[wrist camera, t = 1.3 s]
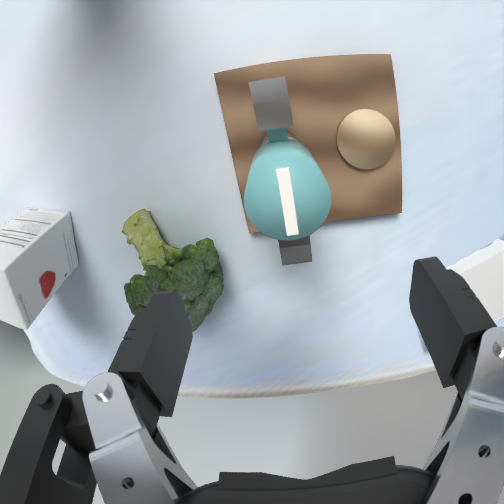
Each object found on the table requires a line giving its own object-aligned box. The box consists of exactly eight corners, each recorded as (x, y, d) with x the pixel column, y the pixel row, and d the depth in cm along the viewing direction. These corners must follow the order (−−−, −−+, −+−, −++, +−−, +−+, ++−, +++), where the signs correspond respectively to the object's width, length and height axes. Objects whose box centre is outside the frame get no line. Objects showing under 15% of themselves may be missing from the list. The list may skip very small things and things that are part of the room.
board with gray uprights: (216, 74, 28) (186, 68, 18) (385, 55, 25) (440, 46, 15) (250, 227, 37) (241, 289, 27) (397, 207, 34) (440, 260, 24)
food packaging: (425, 340, 47) (514, 294, 40) (430, 354, 44) (523, 306, 37) (410, 279, 41) (514, 226, 34) (417, 293, 38) (526, 237, 31)
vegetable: (181, 171, 32) (258, 294, 31) (177, 212, 44) (232, 302, 43) (79, 226, 28) (153, 361, 27) (103, 253, 40) (158, 349, 39)
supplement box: (80, 265, 41) (28, 333, 29) (38, 257, 41) (-16, 316, 28) (71, 209, 37) (3, 270, 24) (27, 205, 37) (-39, 258, 24)
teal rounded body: (239, 117, 22) (226, 131, 15) (306, 106, 21) (322, 116, 15) (262, 226, 26) (258, 276, 20) (321, 217, 25) (337, 266, 19)
